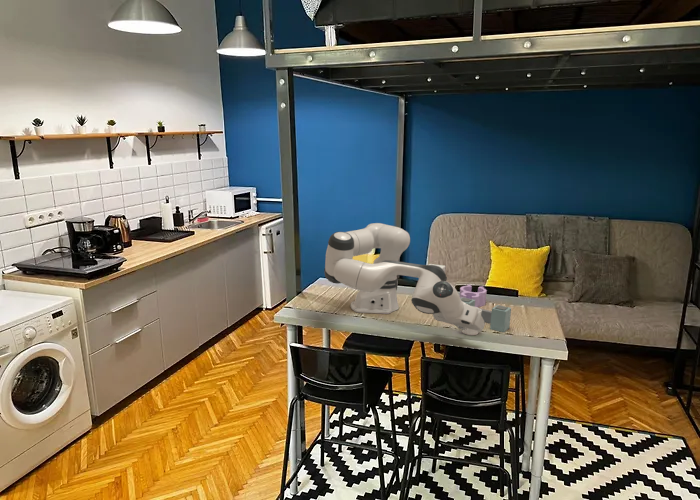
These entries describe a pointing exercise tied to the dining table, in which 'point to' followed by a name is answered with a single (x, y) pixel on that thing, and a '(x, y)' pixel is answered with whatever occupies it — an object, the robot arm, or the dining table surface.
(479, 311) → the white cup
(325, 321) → the dining table surface
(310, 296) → the dining table surface
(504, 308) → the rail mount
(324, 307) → the dining table surface
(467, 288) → the clip
